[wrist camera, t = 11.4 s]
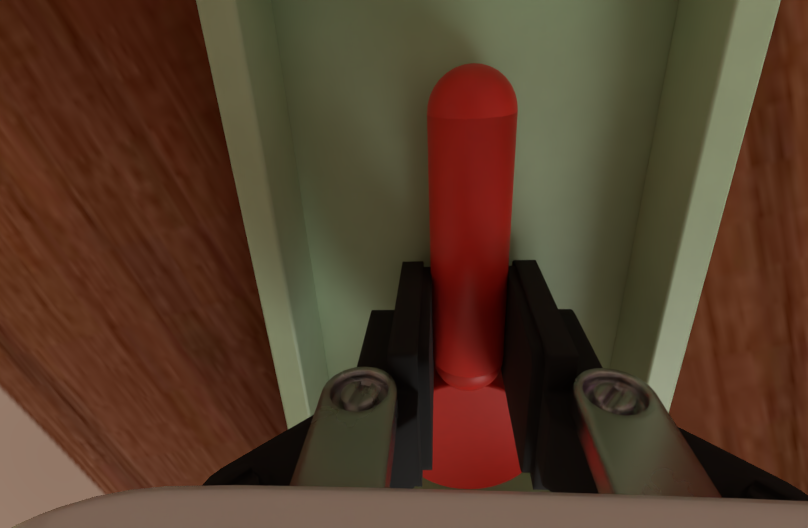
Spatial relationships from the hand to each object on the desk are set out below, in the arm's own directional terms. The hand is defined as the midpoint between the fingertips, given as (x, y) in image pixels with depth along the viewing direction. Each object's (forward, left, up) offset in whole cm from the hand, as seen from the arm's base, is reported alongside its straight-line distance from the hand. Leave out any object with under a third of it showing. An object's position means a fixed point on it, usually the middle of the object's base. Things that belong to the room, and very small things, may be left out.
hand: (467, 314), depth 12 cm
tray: (-1, 0, -1) cm, 1 cm away
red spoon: (-1, 0, 0) cm, 1 cm away
